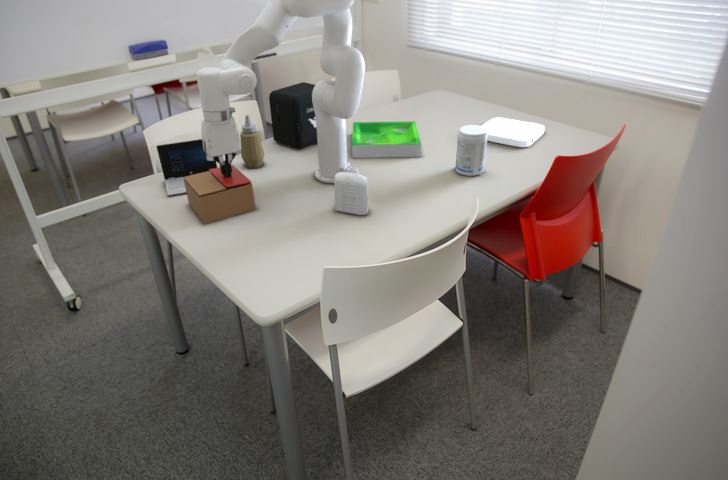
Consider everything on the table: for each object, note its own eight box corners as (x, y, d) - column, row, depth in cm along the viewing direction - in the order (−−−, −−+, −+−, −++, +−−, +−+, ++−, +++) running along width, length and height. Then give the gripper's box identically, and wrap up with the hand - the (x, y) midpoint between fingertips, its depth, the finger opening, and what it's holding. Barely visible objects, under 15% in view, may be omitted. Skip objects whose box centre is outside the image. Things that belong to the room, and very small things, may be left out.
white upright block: (370, 210, 153) (370, 172, 146) (365, 217, 149) (364, 178, 142) (338, 205, 156) (337, 167, 149) (333, 211, 153) (331, 173, 146)
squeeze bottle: (260, 170, 180) (254, 119, 169) (239, 168, 181) (231, 118, 171) (268, 161, 186) (262, 112, 176) (247, 160, 188) (240, 111, 177)
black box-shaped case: (298, 152, 193) (294, 99, 182) (273, 143, 201) (267, 92, 190) (335, 137, 205) (333, 86, 194) (309, 130, 213) (306, 80, 202)
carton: (237, 191, 166) (233, 164, 160) (255, 209, 155) (251, 181, 150) (189, 204, 159) (182, 177, 153) (205, 224, 148) (198, 195, 143)
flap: (233, 166, 160) (232, 165, 160) (251, 182, 150) (251, 181, 150) (208, 170, 157) (208, 169, 157) (226, 187, 146) (226, 186, 146)
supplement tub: (473, 163, 180) (478, 123, 172) (488, 174, 172) (494, 131, 164) (449, 168, 177) (453, 126, 169) (463, 178, 170) (468, 136, 162)
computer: (493, 122, 216) (494, 116, 214) (545, 132, 205) (547, 125, 203) (471, 138, 201) (472, 131, 200) (526, 149, 190) (527, 142, 189)
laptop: (167, 197, 163) (158, 158, 156) (165, 182, 173) (155, 145, 166) (224, 187, 168) (217, 149, 161) (218, 173, 178) (211, 137, 171)
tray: (420, 156, 186) (421, 143, 184) (352, 157, 187) (351, 144, 184) (414, 133, 207) (415, 121, 204) (353, 134, 208) (353, 122, 205)
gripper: (237, 106, 148) (245, 165, 159) (186, 116, 142) (198, 177, 152) (247, 113, 143) (255, 174, 153) (195, 123, 137) (207, 185, 147)
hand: (227, 175), depth 153 cm, fingers closed
